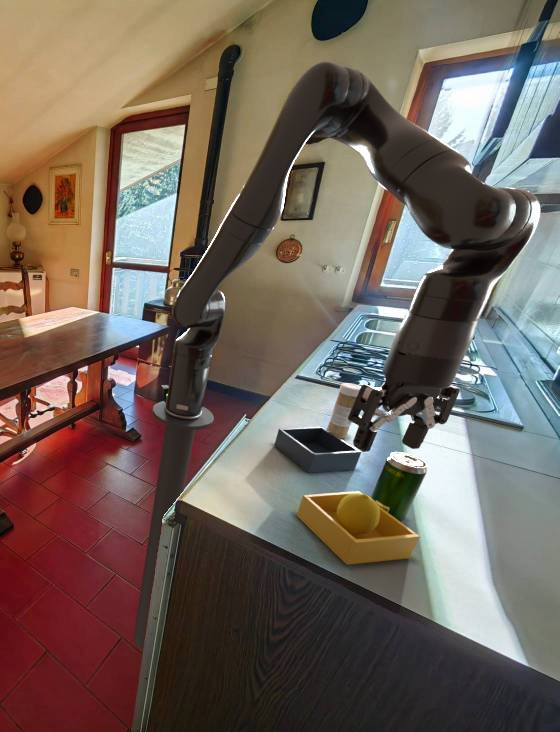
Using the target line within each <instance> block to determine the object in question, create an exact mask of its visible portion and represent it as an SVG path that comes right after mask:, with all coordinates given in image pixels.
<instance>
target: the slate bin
mask: <svg viewBox="0 0 560 732" xmlns="http://www.w3.org/2000/svg"><path fill="white" fill-rule="evenodd" d="M326 429H327V428H324V427H323V426H308V427H287V428H278V430H277V434H276V437H275V441H274V444H273V446H274V447H275V448H277V449H278V450H279V451H281V453H283V454H284V455H285V456H287V457H288V458H289V459H290V460H291V461H293V462H294V463H295V464H296V465H298V466H299V467H300V468H301V469H303V470H304V471H305V472H307V474H312V473H327V472H340V471H341V472H342V471H343V472H344V471H355V470H356V468H357V465H358V462H359V460H360V457H361V454H362V451H361V450H359V449H358V448H356V447H355V446H354V445H351V444H350V443H348V442H347V441H345V440H343V438H339V437H337V436H335V435H334V434H332V433H331V432H329V431H328V430H326Z"/></svg>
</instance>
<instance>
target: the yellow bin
mask: <svg viewBox="0 0 560 732" xmlns="http://www.w3.org/2000/svg"><path fill="white" fill-rule="evenodd" d="M353 493H361V494H363V493H362V492H361V491H359V490H354V491H353V490H352V491H342V492H339V491H338V492H330V493H327V492H326V493H315V494H303V495H302V497H301V500H300V503H299V506H298V510H297V512H296V517H297V518H299V519H300V521H301V522H303V524H304V525H305V526H306V527H308V528H309V530H311V531H312V532H313V533H314V535H316V536H317V537H318V538H319V540H321V541H322V542H323V543H324V544H325V545H326V546H327V548H329V549H330V550H331V551H332V552H333V553H334V554H335V555H336V556H337V557H338V558H339V559H340V560H341V561H342V562H343V563H344V564H345V565H357V564H358V565H359V564H367V563H377V562H378V563H379V562H388V561H398V560H407V559H410V558H411V555H412V553H413V552H414V550H415V548H416V547H417V543H418V542H419V540H420V538H421V536H420V535H419V534H417V533H416V532H415V531H413V530H412V529H411V528H410V527H408V526H407V525H406V524H404V523H403V522H400V521H398V520H397V519H396V518H394V517H393V516H392V515H390V514H389V513H388V512H386V511H385V510H384V509H382V508H381V507H380V506H378V507H379V509H380V518H379V522H378V525H377V526H376V527H375V529H374V530H373V531H371V532H369V533H367V534H354V533H349V532H348V531H347V530H345V529H344V528H343V527H342V526H341V525H340V523H339V522H338V519H337V507H338V505H339V503H340V502H341V500H342V499H343V498H344V497H345V496H347V495H349V494H353Z"/></svg>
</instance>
